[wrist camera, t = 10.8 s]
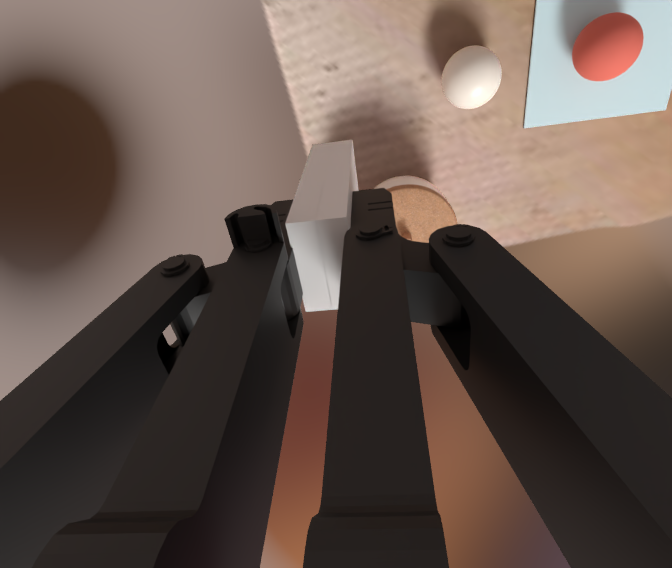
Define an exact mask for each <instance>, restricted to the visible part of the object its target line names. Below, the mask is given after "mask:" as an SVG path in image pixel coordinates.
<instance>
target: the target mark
mask: <svg viewBox="0 0 672 568" xmlns="http://www.w3.org/2000/svg"><path fill="white" fill-rule="evenodd" d="M614 12H621V13H626V14H629V15H631V16H632V17H634V18H635V19H636V20H637V21H638V22H639V23H640V25H641V27H642V30H643V36H644V39H643V46H642V49H641V52H640V54H639V56H638V58H637V59H636V61H635V62H634V63H633V65H632V66H631V67H630V68H629V69H628V70H626V71H625V72H624V73H622V74H621V75H619V76H617V77H615V78H613V79H610V80H607V81H591V80H588V79H585V78H583V77H582V76H581V75H579V73H578V72H577V71H576V70H575V68H574V65H573V62H572V50H573V46H574V43H575V41H576V39H577V37H578V35H579V34H580V32H581V31H582V30H583V29H584V28H585V27H586V25H588V24H589V23H590V22H591V21H593V20H594V19H596V18H598V17H600V16H602V15H605V14H608V13H614ZM671 89H672V0H536V6H535V16H534V26H533V37H532V47H531V57H530V67H529V77H528V87H527V97H526V107H525V117H524V127H523V128H530V127H538V126H546V125H554V124H561V123H569V122H577V121H584V120H592V119H600V118H608V117H615V116H623V115H631V114H639V113H646V112H654V111H662V110H666V107H667V104H668V100H669V96H670V93H671Z"/></svg>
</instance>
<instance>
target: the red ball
mask: <svg viewBox="0 0 672 568" xmlns="http://www.w3.org/2000/svg"><path fill="white" fill-rule="evenodd" d="M643 39H644V36H643V30H642V27H641V25H640V23H639V22H638V21H637V20H636V19H635V18H634V17H632V16H631V15H629V14H626V13H621V12H614V13H608V14H605V15H602V16H600V17H598V18H596V19H594V20H593V21H591V22H590V23H589V24H588V25H586V27H585V28H584V29H583V30H582V31H581V32H580V34H579V35H578V37H577V39H576V41H575V43H574V46H573V50H572V62H573V65H574V68H575V70H576V71H577V72H578V73H579V75H581V76H582V77H583V78H585V79H588V80H591V81H607V80H610V79H613V78H615V77H617V76H619V75H621V74H622V73H624V72H625V71H626V70H628V69H629V68H630V67H631V66H632V65H633V63H634V62H635V61H636V59H637V58H638V56H639V54H640V52H641V49H642V46H643Z"/></svg>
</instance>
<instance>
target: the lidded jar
mask: <svg viewBox="0 0 672 568" xmlns="http://www.w3.org/2000/svg"><path fill="white" fill-rule="evenodd" d="M377 188H385V189H386V190H388V191H389V192H390V193H391V194H392V201H393V208H394V215H395V222H396V228H397V230H398V234H399V235H400V236H402V237H403V238H405V239H408V240H411V241H416V242H425V243H429V237H430V235H431V234H432V233H433V232H434V231H436V230H437V229H440V228H443V227H446V226H453V225H455V224H457V220H456V216H455V213H454V211H453V209H452V207H451V205H450V204H449V203H448V201H447V199H446V197H445V196H444V195H443V194H442V192H441V191H440V190H439V189H438V188H437V187H436V186H434V185H433V184H432V183H430V182H428V181H427V180H425V179H422V178H420V177H415V176H407V175H406V176H397V177H393V178H390V179H387V180H385V181H383V182H382V183H380V184H378V185H377V186H376V187H375V188H374V189H377Z"/></svg>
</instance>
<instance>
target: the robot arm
mask: <svg viewBox="0 0 672 568" xmlns="http://www.w3.org/2000/svg"><path fill="white" fill-rule="evenodd" d="M225 222H226V225H227V228H228V231H229V235H230V238H231V240H232V244H233V247H234V249H233V250H232V253H231V254H230V256H229V258H228V260H227V262H225V263H222V264H219V265H215V266H211V267H207V268H205V266H204V263H203V261H202V259H201V258H200V257H199V256H196V255H191V254H189V255H177V256H176V257H175V256H173V257H170V258H168V259H167V260H165V261H163V262H161V263H159V264H158V265H157V266H155V267H154V268H152V269H151V270H150V271H149V272H148V273H147V274H146V275H144V276H143V277H142V278H141V279H140V280H139V281H138V282H136V283H135V284H134V285H133V286H132V287H131V288H129V289H128V290H127V291H126V292H125V293H124V294H123V295H121V296H120V297H119V298H118V299H117V300H116V301H115V302H113V303H112V304H111V305H110V306H109V307H108V308H107V309H105V310H104V311H103V312H102V313H101V314H100V315H99V316H97V317H96V318H95V319H94V320H93V321H92V322H90V323H89V324H88V325H87V326H86V327H85V328H84V329H82V330H81V331H80V332H79V333H78V334H77V335H76V336H74V337H73V338H72V339H71V340H70V341H69V342H67V343H66V344H65V345H64V346H63V347H62V348H61V349H59V350H58V351H57V352H56V353H55V354H54V355H53V356H52V357H50V358H49V359H48V360H47V361H46V362H45V363H43V364H42V365H41V366H40V367H39V368H38V369H36V370H35V371H34V372H33V373H32V374H31V375H30V376H29V377H27V378H26V379H25V380H24V381H23V382H22V383H21V384H19V385H18V386H17V387H16V388H15V389H14V390H12V391H11V392H10V393H9V394H8V395H7V396H5V397H4V398H3V399H2V400H1V401H0V568H260V563H261V556H262V551H263V546H264V540H265V535H266V529H267V524H268V518H269V513H270V507H271V501H272V496H273V490H274V485H275V479H276V473H277V468H278V463H279V457H280V451H281V446H282V440H283V435H284V429H285V424H286V418H287V412H288V407H289V401H290V396H291V390H292V385H293V379H294V373H295V368H296V362H297V357H298V351H299V346H300V340H301V334H302V329H303V317H302V313H301V308H300V306H301V301H302V298H303V302H304V306H305V310H306V312H309V311H322V310H334V309H338V314H337V326H336V337H335V349H334V360H333V373H332V383H331V396H330V406H329V418H328V429H327V441H326V452H325V465H324V475H323V487H322V498H321V505H320V510H319V513H318V514H317V515H315V516H314V517H312V520H311V522H310V526H309V529H308V534H307V540H306V546H305V554H304V563H303V568H449V565H448V558H447V553H446V552H447V551H446V545H445V539H444V532H443V527H442V522H441V517H440V514H439V513H438V510H437V505H436V499H435V492H434V485H433V478H432V471H431V463H430V456H429V449H428V442H427V435H426V427H425V420H424V413H423V406H422V399H421V392H420V384H419V377H418V370H417V363H416V356H415V349H414V342H413V334H412V327H411V322H416V323H423V324H430V325H431V329H432V333H433V335H434V337H435V338H436V340H437V342H438V344H439V345H440V347H441V349H442V350H443V352H444V354H445V355H446V357H447V359H448V360H449V362H450V364H451V366H452V367H453V369H454V371H455V372H456V374H457V376H458V377H459V379H460V380H461V382H462V384H463V386H464V388H465V389H466V391H467V393H468V394H469V396H470V398H471V399H472V401H473V403H474V404H475V406H476V408H477V410H478V411H479V413H480V414H481V416H482V418H483V420H484V421H485V423H486V425H487V426H488V428H489V430H490V432H491V433H492V435H493V436H494V438H495V440H496V442H497V443H498V445H499V447H500V448H501V450H502V452H503V453H504V455H505V457H506V459H507V460H508V462H509V464H510V465H511V467H512V469H513V470H514V472H515V474H516V475H517V477H518V479H519V480H520V482H521V484H522V486H523V487H524V489H525V491H526V492H527V494H528V495H529V497H530V499H531V500H532V503H533V504H534V506H535V507H536V509H537V511H538V513H539V514H540V516H541V518H542V519H543V521H544V523H545V524H546V526H547V528H548V530H549V531H550V533H551V535H552V536H553V538H554V540H555V541H556V543H557V545H558V546H559V548H560V550H561V551H562V553H563V555H564V556H565V558H566V560H567V562H568V563H569V565H570V567H571V568H672V398H671V397H670V396H669V395H668V394H667V393H666V392H665V391H663V390H662V389H661V388H660V387H659V386H658V385H657V384H656V383H655V382H653V381H652V380H651V379H650V378H649V377H648V376H647V375H645V374H644V373H643V372H642V371H641V370H640V369H639V368H638V367H636V366H635V365H634V364H633V363H632V362H631V361H630V360H629V359H628V358H627V357H625V356H624V355H623V354H622V353H621V352H620V351H618V349H616V348H615V347H614V346H613V345H612V344H611V343H610V342H609V341H608V340H606V339H605V338H604V337H603V336H602V335H600V333H599V332H597V331H596V330H595V329H594V328H593V327H592V326H591V325H590V324H589V323H587V322H586V321H585V320H584V319H583V318H582V317H580V315H578V314H577V313H576V312H575V311H574V310H573V309H572V308H570V307H569V306H568V305H567V304H566V303H565V302H564V301H563V300H561V298H559V297H558V296H557V295H556V294H555V293H554V292H553V291H551V290H550V289H549V288H548V287H547V286H546V285H545V284H544V283H543V282H542V281H540V280H539V279H538V278H537V277H536V276H535V275H534V274H533V273H531V272H530V271H529V270H528V269H527V268H526V267H525V266H524V265H522V264H521V263H520V262H519V261H518V260H517V259H516V258H515V257H514V256H512V255H511V254H510V253H509V252H508V251H507V250H506V249H505V248H504V247H502V246H501V245H500V244H499V243H498V242H497V241H496V240H495V239H493V238H492V237H491V236H490V235H489V234H488V233H487V232H485V231H483V230H482V229H480V228H477V227H473V226H470V225H465V224H463V225H461V224H455V225H453V226H446V227H443V228H440V229H437V230H436V231H434V232H433V233H432V234H431V235H430V237H429V243H425V242H416V241H411V240H408V239H405V238H403V237H402V236H400V235H399V234H398V230H397V228H396V222H395V215H394V208H393V201H392V194H391V193H390V192H389V191H388V190H386V189H385V188H377V189H369V190H360V191H359V190H358V181H357V173H356V165H355V157H354V148H353V140H345V141H337V142H330V143H322V144H314V145H312V147H311V150H310V153H309V156H308V159H307V162H306V165H305V168H304V171H303V173H302V177H301V179H300V182H299V185H298V188H297V191H296V194H295V197H294V200H285V201H277V202H274V203H273V204H272V205H266V204H263V205H262V204H261V205H252V206H247V207H243V208H241V209H238V210H236V211H234V212H232V213H230V214H229V215H228V216H227V217H226V218H225ZM169 324H170V325H171V327H172V329H173V331H174V333H175V335H176V337H177V340H176V341H175V342H174V343H173V344H172V345H171V346H170V345H168V343H167V341H166V339H165V337H164V335H163V333H162V332H163V331H164V330H165V328H166V327H168V325H169Z"/></svg>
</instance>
